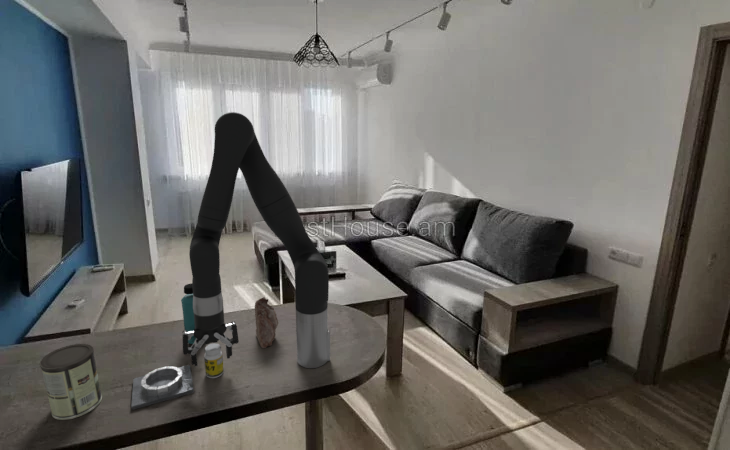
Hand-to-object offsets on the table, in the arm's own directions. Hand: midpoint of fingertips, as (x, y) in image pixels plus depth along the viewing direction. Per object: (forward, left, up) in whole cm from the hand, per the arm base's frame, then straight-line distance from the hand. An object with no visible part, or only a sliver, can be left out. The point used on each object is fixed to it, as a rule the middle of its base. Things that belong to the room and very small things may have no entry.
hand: (212, 360), depth 107 cm
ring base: (+13, 0, -4) cm, 13 cm away
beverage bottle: (+3, -19, -4) cm, 19 cm away
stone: (-18, -11, -4) cm, 22 cm away
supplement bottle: (0, 0, -4) cm, 4 cm away
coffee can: (+32, -2, -4) cm, 32 cm away
